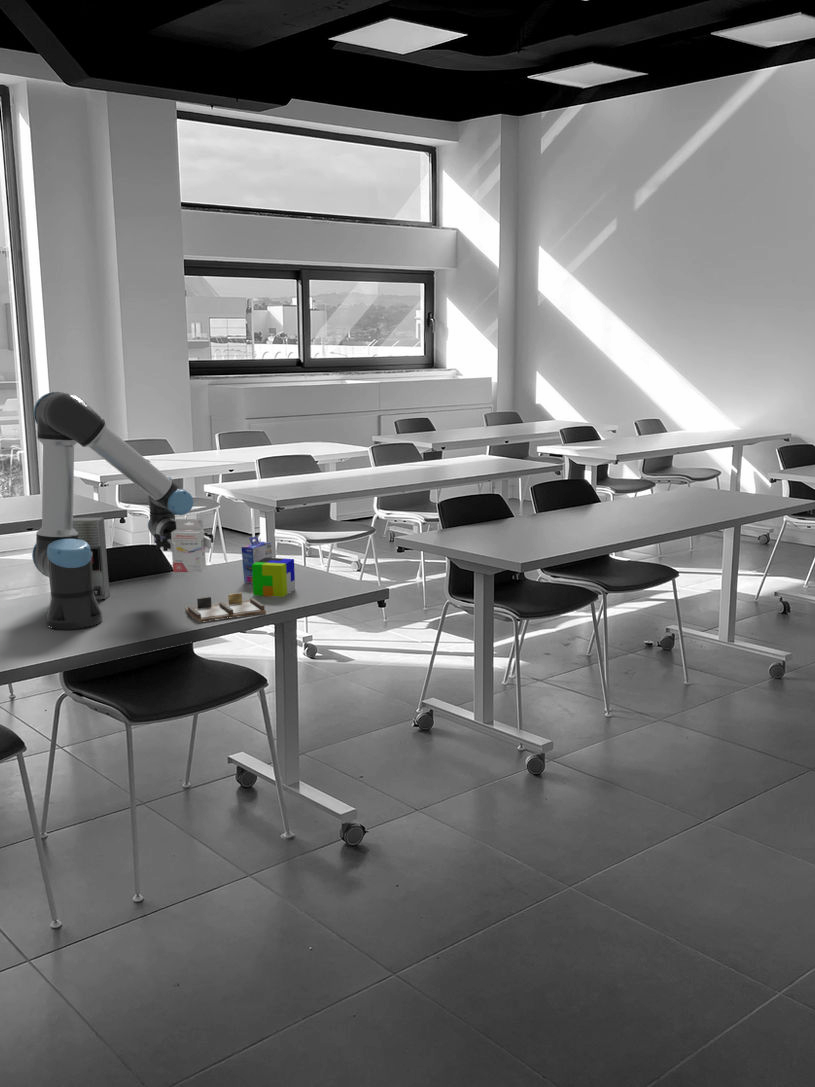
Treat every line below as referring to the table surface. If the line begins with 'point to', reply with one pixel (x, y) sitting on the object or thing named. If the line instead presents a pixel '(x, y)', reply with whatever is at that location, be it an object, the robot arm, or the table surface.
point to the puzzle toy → (273, 577)
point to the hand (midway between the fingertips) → (192, 545)
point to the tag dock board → (225, 608)
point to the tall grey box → (95, 552)
